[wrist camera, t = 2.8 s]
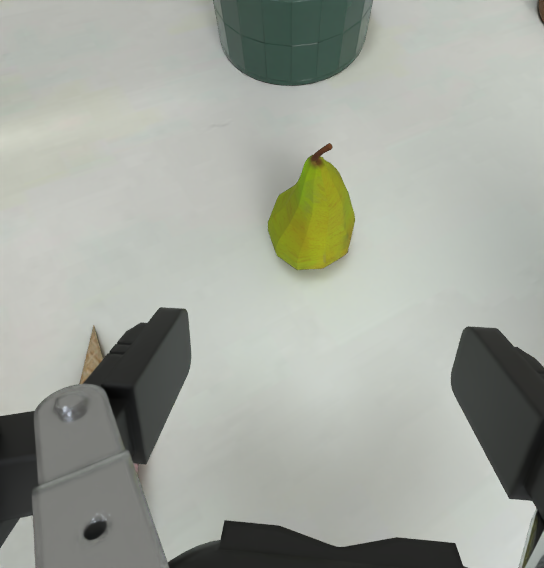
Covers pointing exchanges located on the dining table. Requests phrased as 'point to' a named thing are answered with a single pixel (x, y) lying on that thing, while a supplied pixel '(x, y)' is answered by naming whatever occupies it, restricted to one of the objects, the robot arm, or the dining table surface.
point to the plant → (541, 9)
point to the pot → (292, 37)
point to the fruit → (313, 217)
